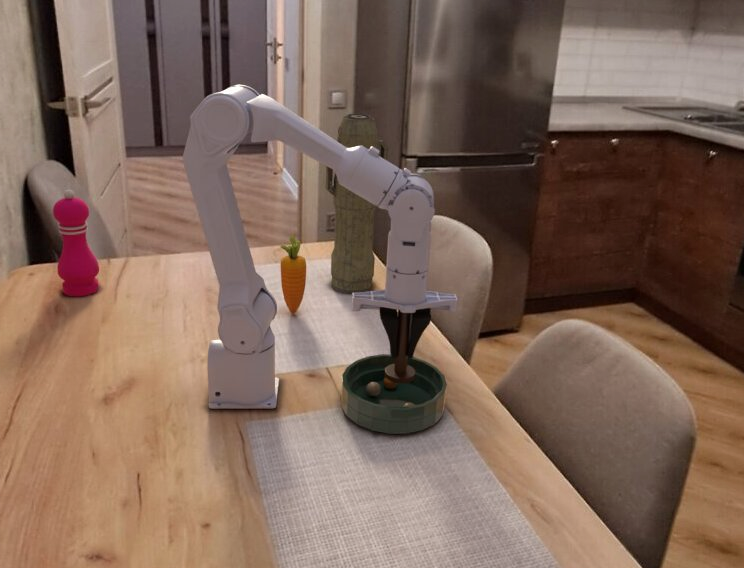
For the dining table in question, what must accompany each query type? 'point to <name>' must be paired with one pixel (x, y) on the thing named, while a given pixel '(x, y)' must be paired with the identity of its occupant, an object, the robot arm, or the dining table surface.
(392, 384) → the bead
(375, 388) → the bead
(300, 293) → the carrot
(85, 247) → the pepper mill
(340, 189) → the thermos
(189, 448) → the dining table surface
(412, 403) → the bead
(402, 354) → the stick
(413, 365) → the bowl
